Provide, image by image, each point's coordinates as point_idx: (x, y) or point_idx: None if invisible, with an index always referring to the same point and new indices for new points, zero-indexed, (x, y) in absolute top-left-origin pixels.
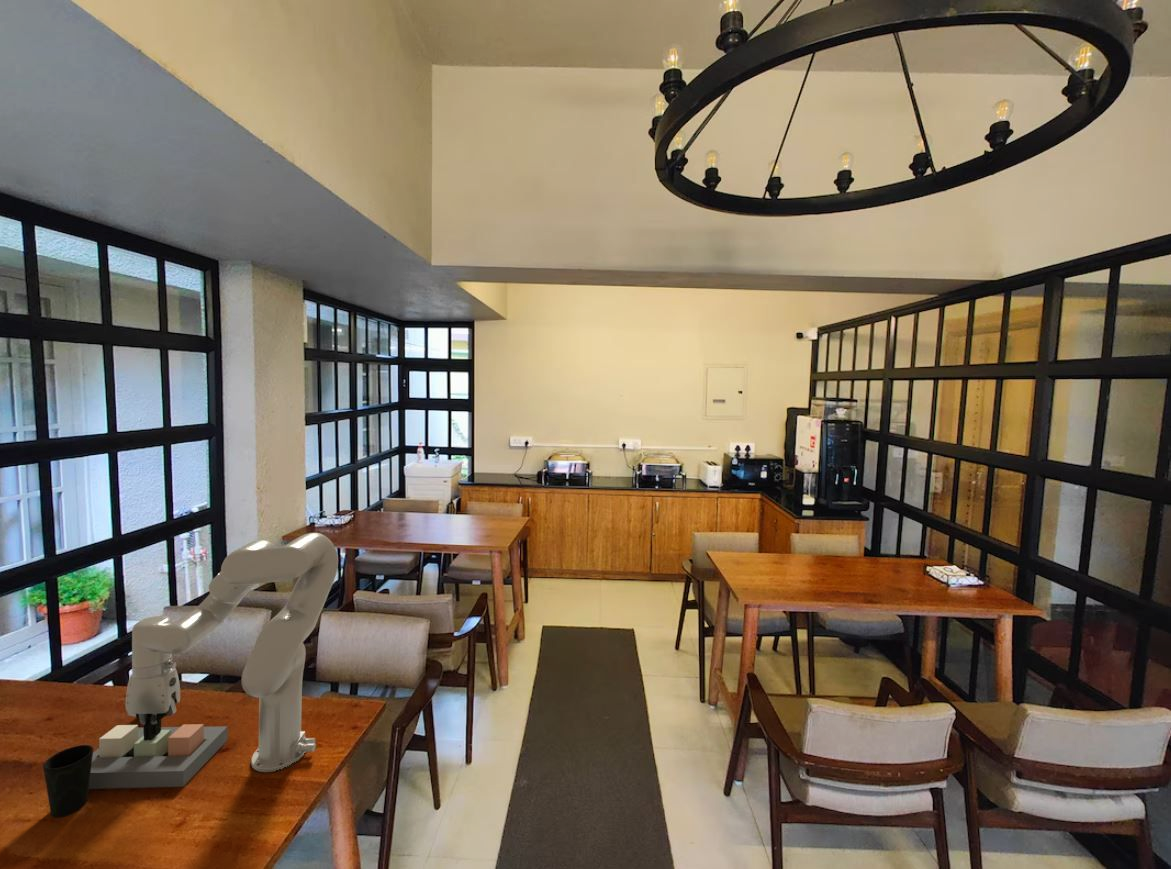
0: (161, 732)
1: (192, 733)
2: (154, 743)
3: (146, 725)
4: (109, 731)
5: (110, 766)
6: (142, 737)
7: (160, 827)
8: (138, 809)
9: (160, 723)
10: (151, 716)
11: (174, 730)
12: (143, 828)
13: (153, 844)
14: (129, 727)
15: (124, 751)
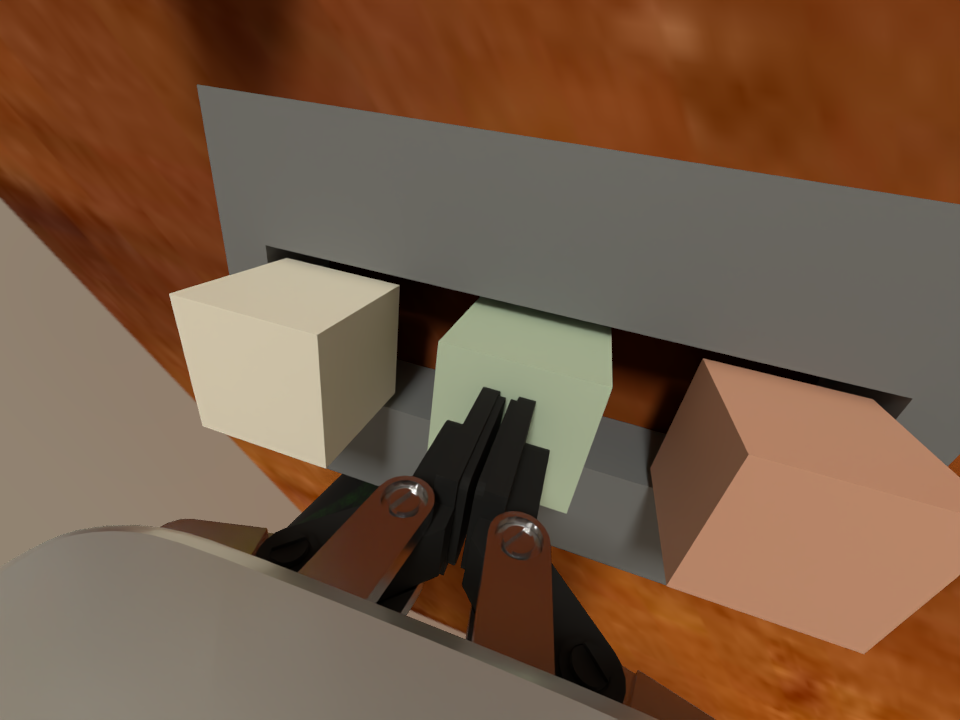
0: (546, 402)
1: (887, 622)
2: (559, 508)
3: (443, 567)
4: (190, 365)
5: (398, 464)
6: (438, 421)
7: (728, 678)
8: (617, 583)
9: (538, 507)
10: (418, 544)
11: (579, 200)
12: (672, 658)
13: (728, 717)
14: (279, 352)
15: (386, 382)
